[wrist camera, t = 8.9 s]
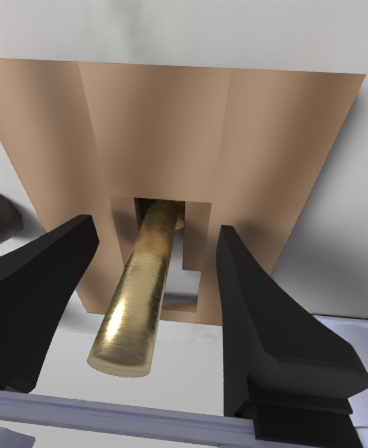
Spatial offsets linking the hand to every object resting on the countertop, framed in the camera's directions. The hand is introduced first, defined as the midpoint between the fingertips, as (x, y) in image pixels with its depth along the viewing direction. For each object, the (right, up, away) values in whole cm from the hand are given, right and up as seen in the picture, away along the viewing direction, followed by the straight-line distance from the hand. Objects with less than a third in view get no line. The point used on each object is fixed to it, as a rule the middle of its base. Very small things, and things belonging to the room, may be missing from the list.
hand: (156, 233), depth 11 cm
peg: (0, +2, +3) cm, 4 cm away
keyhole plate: (0, 0, +4) cm, 4 cm away
